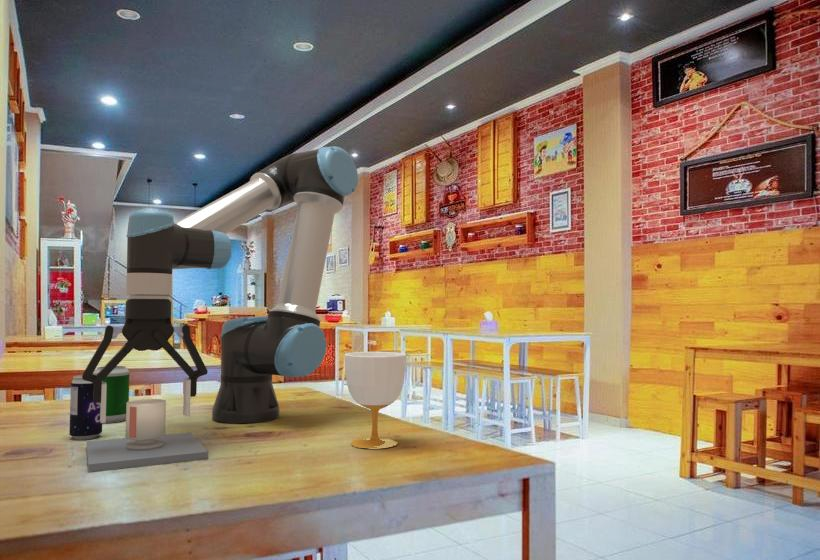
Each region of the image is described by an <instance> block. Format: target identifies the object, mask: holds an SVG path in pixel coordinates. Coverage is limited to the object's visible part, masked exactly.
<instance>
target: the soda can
mask: <svg viewBox="0 0 820 560" xmlns="http://www.w3.org/2000/svg"><path fill="white" fill-rule="evenodd" d="M104 366H105V365H103V366H97V367H96V369H95V370H94V372H93V374H95V375H97V374H98V373H99V372H100V371H101V370H102V369H103V367H104ZM130 374H131V373H130V370H129V369H128V368H127V367H126V366H124V365H117V366H116V367H115V368H114V369H113V370H112V371H111V372H110V374H109V375H108V376H107V377H106V378H105V379H104V380H103V382H106V384H107V391H106V423H105V424H113V423H114V422H115V423H120V421H121V422H124V421H125V420H126V404H127V402H129V401H130ZM115 423H114V424H115Z"/></svg>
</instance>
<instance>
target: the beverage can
mask: <svg viewBox="0 0 820 560" xmlns="http://www.w3.org/2000/svg"><path fill="white" fill-rule="evenodd" d="M102 382H103V381H102ZM93 392H94V384H93V383H92V382H89V381H85V380H83V379H82V374H81V375H75V376H73V379H72V381H71V383H70V400H69V401H70V402H69V403H70V405H69V431H68V432H69V433H68V434H69V436H70V437H72V438H73V440H76V441H78V440H79V441H82V440H85V441H86V440H87V441H88V440H92V439H93V440H94V439H97V438H98V437H99V435H101V433H103V423H101V422H100V406H101V402H100V403H95V402H94V400H93Z"/></svg>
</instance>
